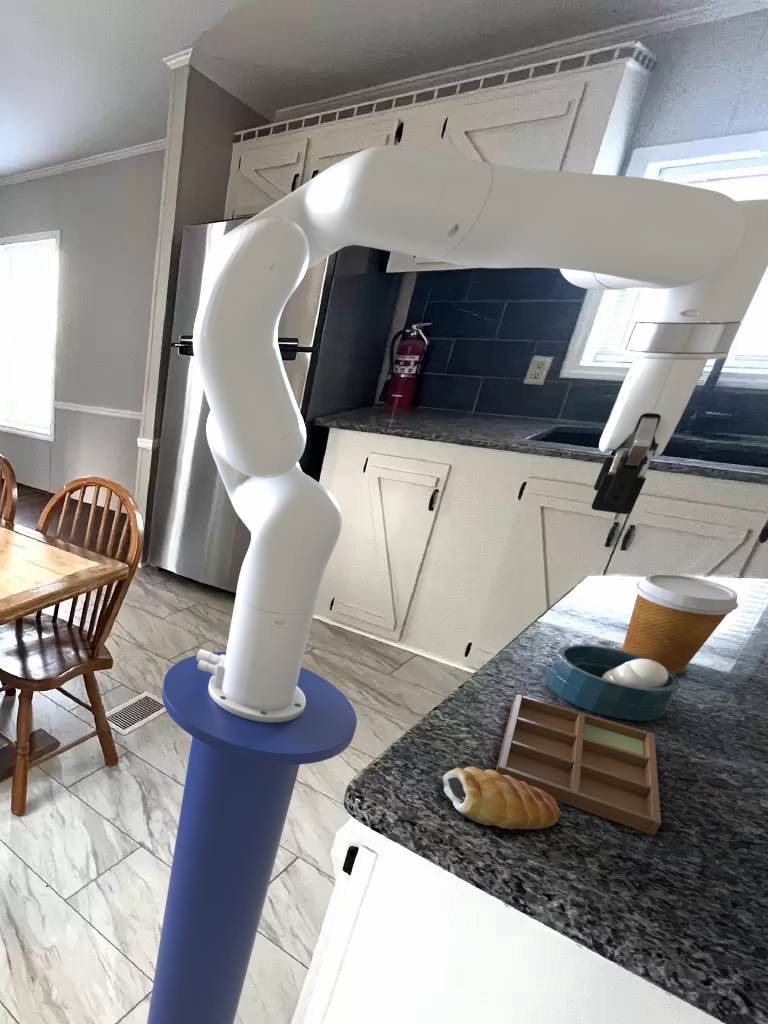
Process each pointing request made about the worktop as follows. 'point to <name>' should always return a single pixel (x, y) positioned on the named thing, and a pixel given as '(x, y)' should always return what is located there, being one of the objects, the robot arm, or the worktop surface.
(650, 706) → the bowl
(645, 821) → the compartment tray
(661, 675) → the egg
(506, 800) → the pastry
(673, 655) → the disposable coffee cup
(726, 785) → the worktop surface
